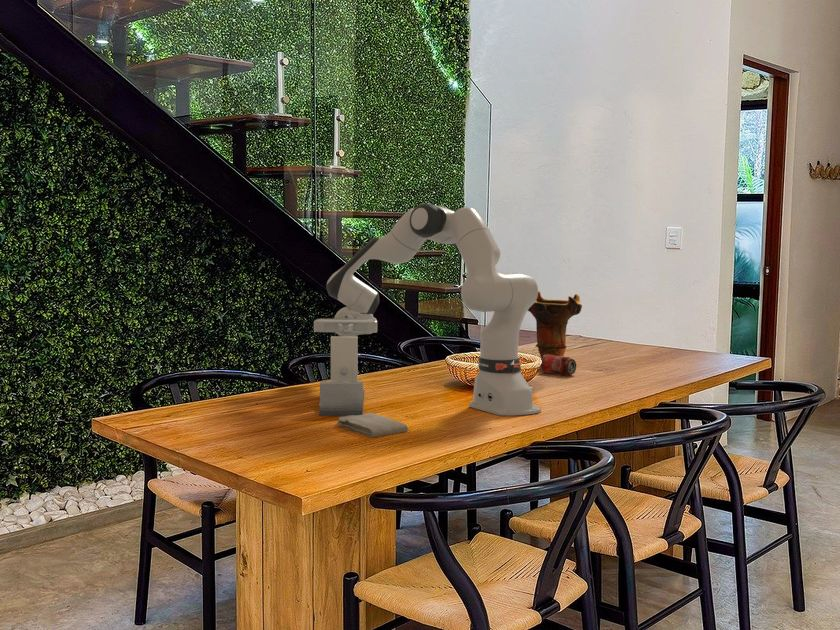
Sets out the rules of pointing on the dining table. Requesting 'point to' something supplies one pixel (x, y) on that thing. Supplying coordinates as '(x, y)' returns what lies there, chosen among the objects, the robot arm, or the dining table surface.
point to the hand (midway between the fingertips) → (344, 328)
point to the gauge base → (341, 398)
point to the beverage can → (558, 365)
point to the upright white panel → (344, 358)
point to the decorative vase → (553, 323)
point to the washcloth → (371, 425)
